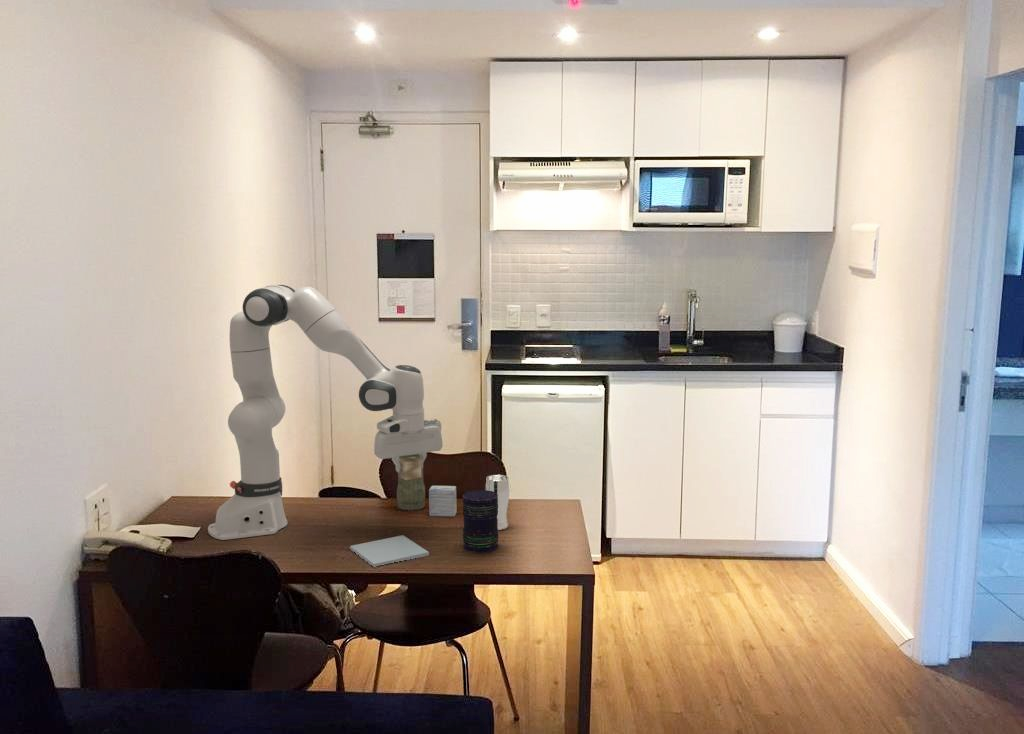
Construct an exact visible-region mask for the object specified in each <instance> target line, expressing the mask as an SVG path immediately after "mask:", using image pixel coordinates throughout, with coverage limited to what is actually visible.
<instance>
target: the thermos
mask: <svg viewBox="0 0 1024 734" xmlns="http://www.w3.org/2000/svg"><path fill="white" fill-rule="evenodd" d="M409 457H415V458H417V459H419V458H420V455H419V454H414V455H407V456H400V457H399V459H402V458H409ZM397 482H398V483H397V488H396V500H397V509H398V508H399V509H402V510H419V509H422V508H424V507H425V508H426V503H425V500H426V486H425V482H424V467H423V468H421V478H416V479H410V480H404V479H402V478H401V477H399V476H398V475H397ZM425 508H424V509H425ZM399 509H398V510H399ZM402 510H401V511H402ZM422 510H423V509H422ZM419 511H420V510H419Z"/></svg>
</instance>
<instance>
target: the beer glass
mask: <svg viewBox="0 0 1024 734" xmlns="http://www.w3.org/2000/svg"><path fill="white" fill-rule="evenodd" d="M485 480H486V481H485V490H488V491H493V492H496V493H497V494H498V498H497V499H498V515H497V528H498V531H500V530H501V531H503V530H506V529H507V528H508V527H509V526H508V525H509V524H508V517H507V512H508V506H509V499H510V481H509V476H508V475H504V474H491V475H487V476H486V479H485ZM502 529H503V530H502Z"/></svg>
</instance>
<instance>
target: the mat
mask: <svg viewBox="0 0 1024 734" xmlns="http://www.w3.org/2000/svg"><path fill="white" fill-rule="evenodd" d="M350 549H351V550H350ZM349 550H350V551H352V552H353V553H354V552H355V553H356V555H357V556H358V555H359V556H358V557H360V558H361V559H362V560H363V559H364V560H363V561H364V562H365V563H367V562H368V563H367V564H368V565H370V566H371V565H372V566H373V568H374V567H375V568H377V567H376V566H379V565H384V564H388V563H393V564H395V563H394V562H398V563H400V562H399V561H402V562H405V561H404V560H407V561H411V560H416V559H420V558H424V557H428V556H430V552H429V551H428V550H426V549H424V547H422V546H420V545H419V544H417V543H415V542H414V541H413V540H411V539H409V538H408V537H406V536H405V535H397V536H393V537H388V538H383V539H378V540H373V541H368V542H364V543H359V544H358V543H357V544H353V545H350V546H349ZM355 553H354V554H355ZM415 558H416V559H415ZM410 559H411V560H410ZM372 566H371V567H372ZM384 566H385V565H384Z"/></svg>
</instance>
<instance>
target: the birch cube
mask: <svg viewBox="0 0 1024 734" xmlns="http://www.w3.org/2000/svg"><path fill="white" fill-rule="evenodd" d="M397 461H398V463H399V464H401V465H403V468H402V469H403V471H400V472H397V477H398V476H399V477H401V478H402V479H404V480H410V479H416V478H421V460H419V459H417V458H415V457H409V458H402V459H399V460H397Z"/></svg>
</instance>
